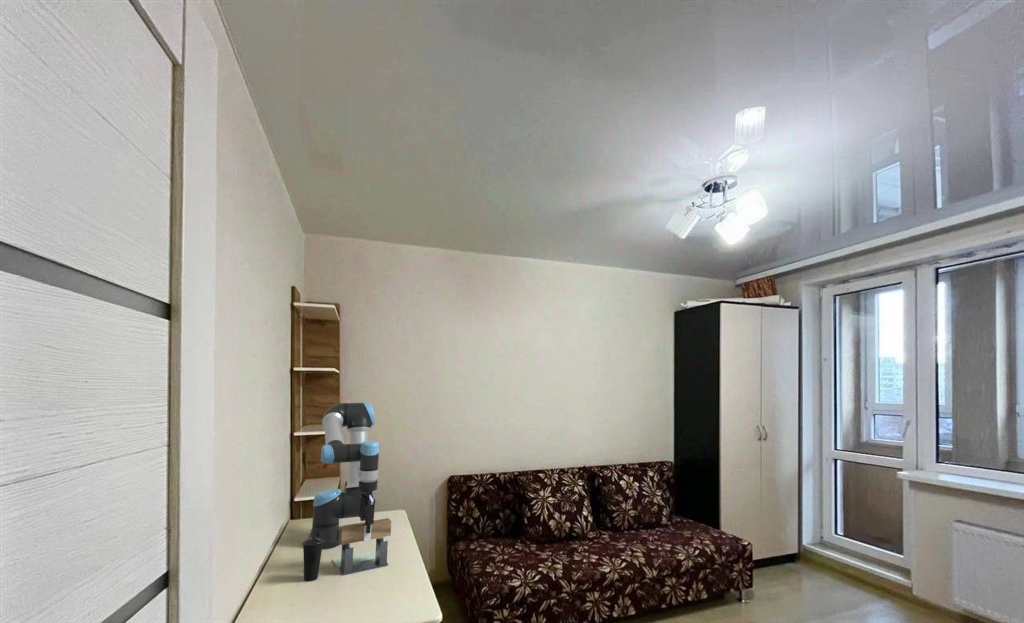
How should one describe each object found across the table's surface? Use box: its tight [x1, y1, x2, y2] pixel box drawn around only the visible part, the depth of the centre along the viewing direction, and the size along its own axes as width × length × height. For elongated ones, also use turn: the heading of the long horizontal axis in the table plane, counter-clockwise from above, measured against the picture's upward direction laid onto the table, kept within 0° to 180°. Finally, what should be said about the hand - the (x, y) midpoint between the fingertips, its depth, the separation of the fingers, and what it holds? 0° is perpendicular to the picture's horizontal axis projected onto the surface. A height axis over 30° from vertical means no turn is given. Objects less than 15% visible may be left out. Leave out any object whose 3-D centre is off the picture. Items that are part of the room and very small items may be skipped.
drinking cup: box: [302, 524, 324, 582], centre depth 183 cm, size 8×8×20 cm
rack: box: [338, 537, 389, 576], centre depth 193 cm, size 6×18×10 cm, turn 124°
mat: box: [331, 550, 376, 569], centre depth 201 cm, size 9×18×1 cm, turn 124°
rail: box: [339, 517, 392, 546], centre depth 195 cm, size 4×20×6 cm, turn 124°
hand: (365, 539), depth 194 cm, fingers closed on rail, 4 cm apart
